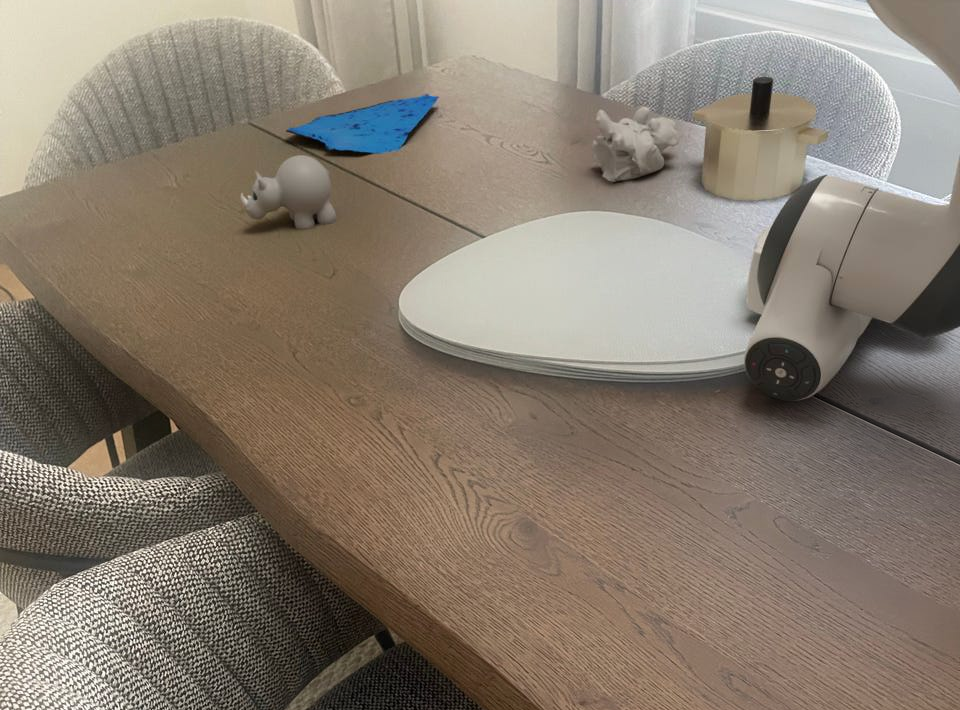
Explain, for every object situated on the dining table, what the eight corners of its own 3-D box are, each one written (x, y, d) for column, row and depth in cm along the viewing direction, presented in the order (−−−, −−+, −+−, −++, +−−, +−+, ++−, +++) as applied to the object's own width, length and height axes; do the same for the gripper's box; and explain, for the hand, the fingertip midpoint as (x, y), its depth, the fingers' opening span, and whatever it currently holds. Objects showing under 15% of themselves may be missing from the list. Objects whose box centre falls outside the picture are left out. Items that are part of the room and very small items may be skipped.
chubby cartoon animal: (246, 226, 131) (229, 160, 125) (331, 208, 133) (319, 142, 127) (254, 247, 126) (236, 180, 120) (343, 227, 128) (330, 160, 122)
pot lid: (742, 95, 128) (746, 56, 125) (836, 112, 121) (843, 72, 118) (681, 127, 122) (684, 87, 118) (776, 148, 115) (782, 106, 111)
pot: (720, 156, 135) (726, 89, 128) (838, 183, 125) (851, 111, 119) (666, 187, 129) (669, 118, 123) (785, 218, 119) (796, 145, 113)
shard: (302, 110, 163) (299, 98, 161) (442, 100, 161) (440, 87, 159) (275, 166, 146) (272, 153, 144) (431, 155, 144) (429, 141, 142)
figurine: (589, 107, 124) (676, 72, 124) (584, 150, 134) (664, 117, 134) (614, 166, 124) (701, 130, 124) (606, 205, 134) (687, 172, 134)
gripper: (953, 281, 89) (985, 220, 97) (738, 246, 97) (783, 194, 105) (936, 343, 93) (967, 281, 101) (731, 306, 102) (775, 251, 109)
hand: (872, 236), depth 103 cm, fingers closed on lemon, 5 cm apart
